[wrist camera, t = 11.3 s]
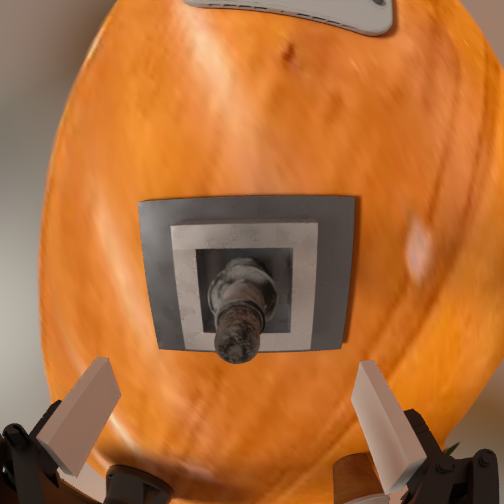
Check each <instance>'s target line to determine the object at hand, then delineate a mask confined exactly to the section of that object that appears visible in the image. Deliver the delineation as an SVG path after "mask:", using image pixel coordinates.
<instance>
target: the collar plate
mask: <svg viewBox="0 0 504 504" xmlns="http://www.w3.org/2000/svg"><path fill="white" fill-rule="evenodd" d="M138 210H139V222H140V233H141V242H142V251H143V259H144V267H145V274H146V281H147V288H148V294H149V300H150V306H151V312H152V317H153V322H154V327H155V332H156V337H157V342H158V347H159V349H166V350H179V351H196V352H216V350H215V346H214V339H215V335H216V332H217V330H216V327H215V320H214V318H215V316H214V314H213V313H212V311H211V309H210V306H209V304H208V291H209V286H210V284H211V282H212V281H213V279H214V278H215V277H216V276H217V275H218V274H219V272H220V270H221V269H222V267H223V266H224V265H225V264H226V263H227V262H228V261H230V260H232V259H234V258H238V257H252V258H255V259H258V260H259V261H261V262H263V263H264V264H265V265H266V266H267V267H268V268H269V270H270V272H271V274H272V277H273V281H274V283H275V285H276V286H277V290H278V294H279V304H278V307H277V310H276V312H275V314H274V315H273V317H272V318H271V319H270V320H269V321H268V322H267V323H266V325H265V328H264V331H263V332H262V334H261V335H260V348H259V350H258V353H276V352H302V351H320V350H333V349H341V347H342V340H343V334H344V327H345V320H346V312H347V304H348V295H349V286H350V276H351V264H352V251H353V235H354V213H355V197H352V196H320V195H259V196H221V197H198V198H179V199H164V200H150V201H140V202H138Z"/></svg>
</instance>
